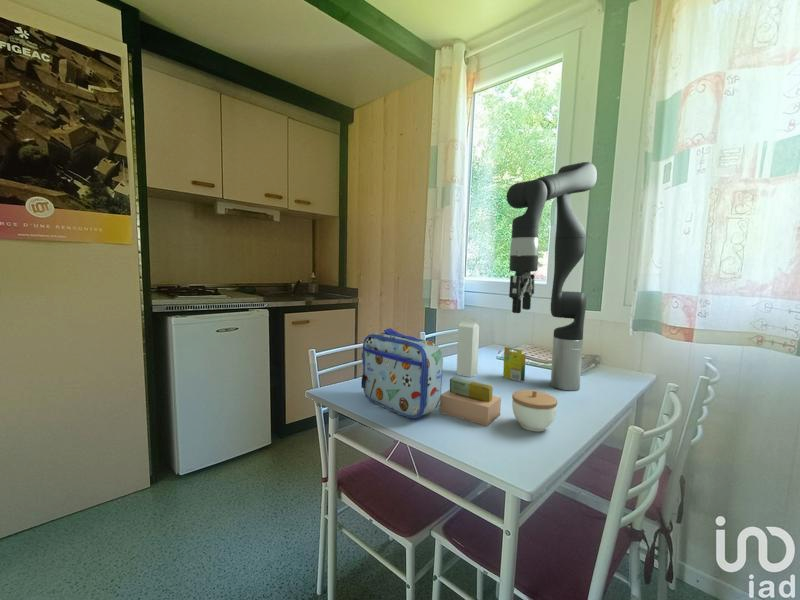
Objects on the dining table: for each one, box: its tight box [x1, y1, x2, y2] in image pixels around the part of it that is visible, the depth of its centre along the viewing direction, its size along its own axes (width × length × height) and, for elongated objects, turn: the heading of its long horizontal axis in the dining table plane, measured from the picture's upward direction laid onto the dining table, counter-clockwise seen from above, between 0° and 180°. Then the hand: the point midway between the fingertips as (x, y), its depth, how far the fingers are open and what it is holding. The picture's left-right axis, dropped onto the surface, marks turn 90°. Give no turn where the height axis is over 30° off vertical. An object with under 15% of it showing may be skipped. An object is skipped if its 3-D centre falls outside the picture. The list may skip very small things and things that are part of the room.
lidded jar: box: [511, 389, 558, 432], centre depth 90 cm, size 11×11×9 cm
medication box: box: [449, 376, 494, 402], centre depth 97 cm, size 12×3×4 cm, turn 52°
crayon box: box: [502, 346, 527, 383], centre depth 130 cm, size 7×3×12 cm, turn 40°
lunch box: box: [360, 327, 444, 419], centre depth 100 cm, size 28×10×22 cm, turn 44°
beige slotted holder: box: [439, 389, 502, 427], centre depth 97 cm, size 9×14×5 cm, turn 54°
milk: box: [456, 316, 480, 378], centre depth 134 cm, size 6×6×22 cm
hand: (521, 311), depth 101 cm, fingers open, 8 cm apart
